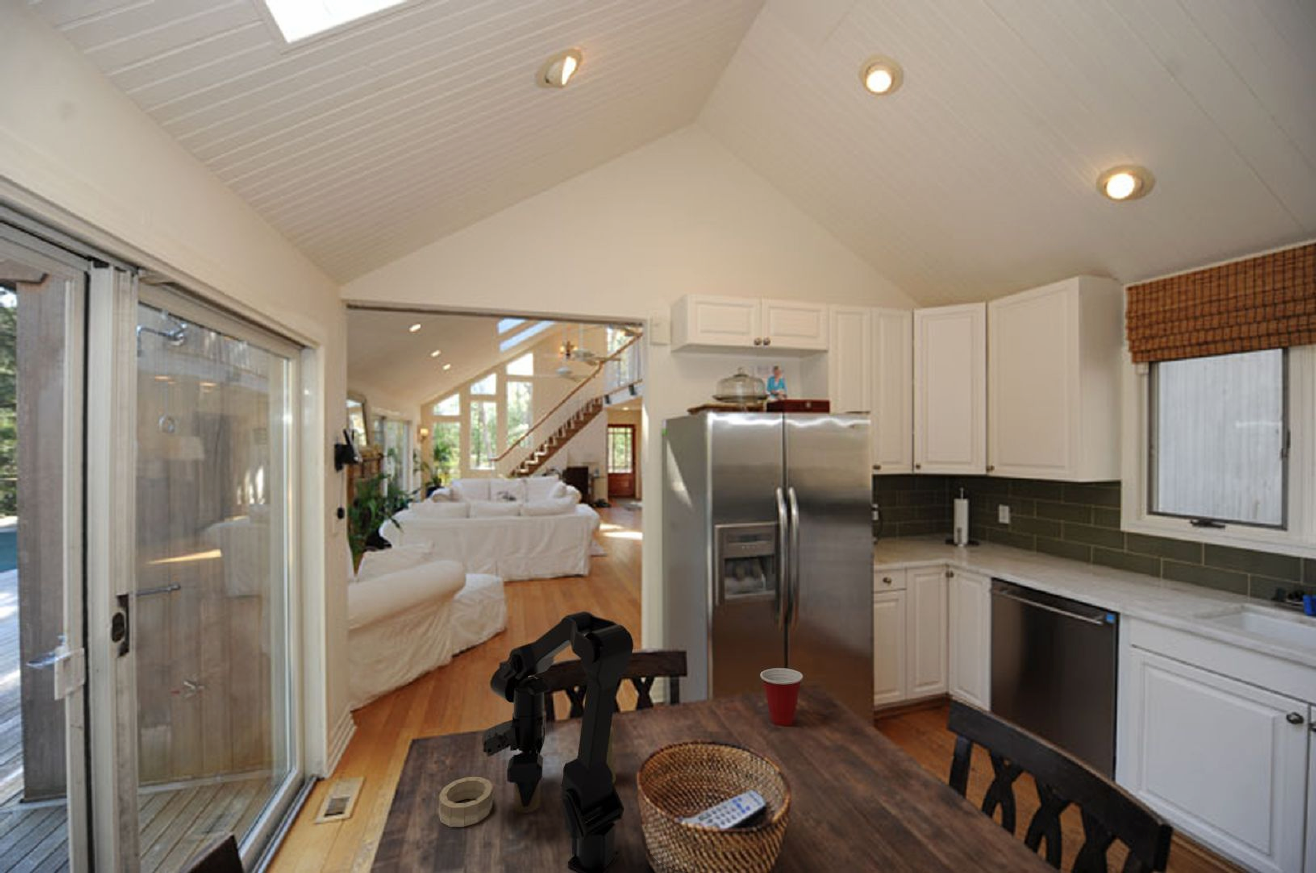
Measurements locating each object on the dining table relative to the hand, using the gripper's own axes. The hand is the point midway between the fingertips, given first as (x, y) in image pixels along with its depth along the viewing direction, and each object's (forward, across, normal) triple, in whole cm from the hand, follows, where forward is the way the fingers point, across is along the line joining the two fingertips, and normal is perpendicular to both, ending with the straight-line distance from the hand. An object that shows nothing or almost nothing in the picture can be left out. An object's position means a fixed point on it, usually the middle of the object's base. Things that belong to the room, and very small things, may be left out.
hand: (527, 791), depth 107 cm
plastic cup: (+3, -25, +62) cm, 67 cm away
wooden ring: (+2, 0, -11) cm, 12 cm away
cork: (+3, -6, +15) cm, 16 cm away
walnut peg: (+3, 0, 0) cm, 3 cm away
